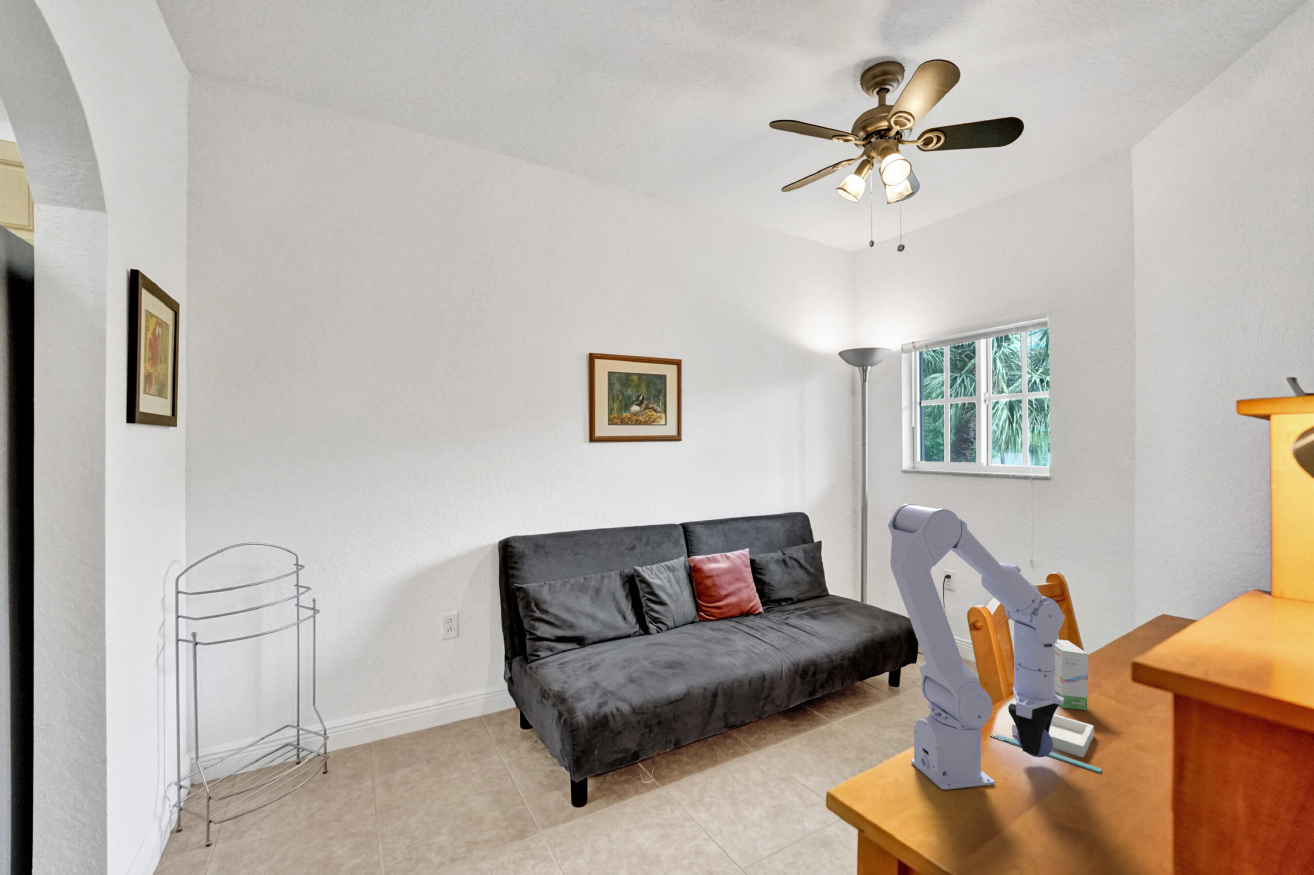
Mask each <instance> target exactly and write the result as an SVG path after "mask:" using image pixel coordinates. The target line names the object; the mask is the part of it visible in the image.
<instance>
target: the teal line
mask: <svg viewBox="0 0 1314 875" xmlns="http://www.w3.org/2000/svg"><path fill="white" fill-rule="evenodd" d="M992 736H993V735H992ZM994 737H997V738H1000V739H1003V740H1004V741H1003V742H1005V741H1007V742H1006V743H1008V742H1010V743H1009V744H1011V743H1012V744H1011V745H1014V746H1017V747H1020V745H1019V743H1018V740H1017V739H1014V738H1013V739H1012V738H1010V737H1006V736H1003V735H1000V734H998V735H996V736H994ZM1046 757H1050V758H1052V759H1053V758H1054V759H1056V760H1059V761H1062V762H1066V763H1068V764H1071V765H1073V766H1074V765H1075V766H1078V767H1080V768H1083V769H1085V770H1088V771H1091V772H1095V773H1098V774H1102V768H1101V767H1097V766H1095V765H1092V764H1089V763H1085V762H1082V761H1079V760H1076V759H1073V758H1070V757H1068V756H1064V755H1061V754H1058V753H1054V752H1053V751H1051V752H1050V754H1049V755H1047V756H1046Z"/></svg>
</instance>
